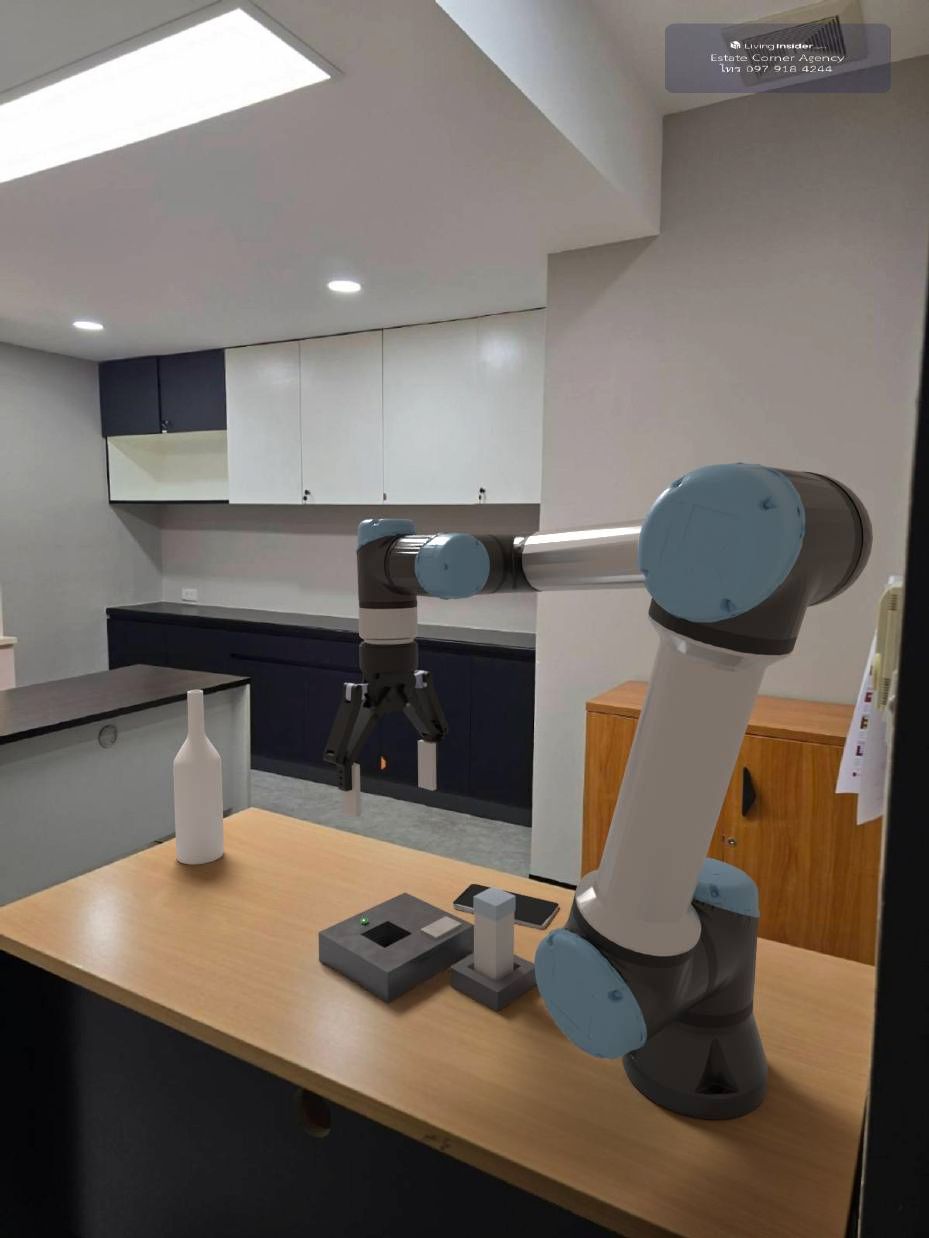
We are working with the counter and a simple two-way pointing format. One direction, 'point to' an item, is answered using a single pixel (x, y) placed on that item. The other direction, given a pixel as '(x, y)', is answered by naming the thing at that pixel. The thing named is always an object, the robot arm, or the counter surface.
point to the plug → (494, 933)
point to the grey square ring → (493, 982)
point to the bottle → (198, 792)
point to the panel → (396, 945)
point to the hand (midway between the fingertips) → (391, 800)
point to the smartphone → (526, 907)
